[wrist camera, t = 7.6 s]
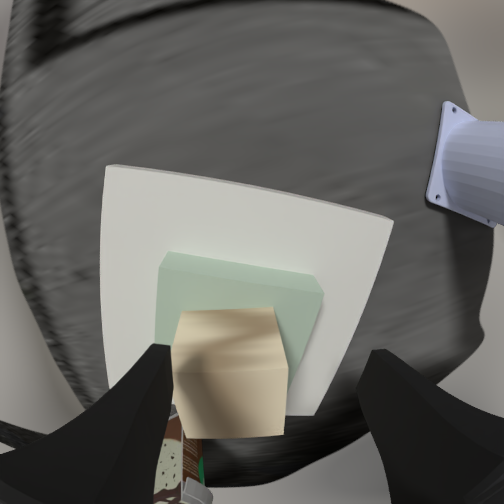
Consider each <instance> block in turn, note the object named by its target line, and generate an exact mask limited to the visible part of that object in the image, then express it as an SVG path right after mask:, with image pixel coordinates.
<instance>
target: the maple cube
mask: <svg viewBox="0 0 504 504" xmlns="http://www.w3.org/2000/svg"><path fill="white" fill-rule="evenodd" d="M171 360H172V372H173V383H174V390H173V399H174V402H175V405H176V409H177V412H178V415H179V418H180V421H181V424H182V427H183V430H184V433H185V435H186V438H195V439H224V438H249V437H263V436H275V435H283V434H284V422H285V410H286V397H287V383H288V364H287V360H286V356H285V352H284V348H283V344H282V340H281V336H280V332H279V328H278V324H277V320H276V316H275V312H274V308H273V307H262V308H244V309H224V310H196V311H182V312H181V315H180V319H179V323H178V326H177V330H176V334H175V338H174V341H173V345H172V349H171Z"/></svg>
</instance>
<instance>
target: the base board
mask: <svg viewBox="0 0 504 504" xmlns="http://www.w3.org/2000/svg"><path fill="white" fill-rule="evenodd" d="M393 223H394V221H392V220H391V219H389V218H387V217H385V216H382V215H378V214H375V213H371V212H367V211H363V210H360V209H356V208H352V207H348V206H344V205H340V204H336V203H332V202H327V201H323V200H319V199H315V198H310V197H306V196H301V195H297V194H292V193H288V192H283V191H278V190H273V189H268V188H264V187H259V186H253V185H248V184H243V183H238V182H232V181H227V180H221V179H215V178H209V177H203V176H197V175H191V174H184V173H178V172H171V171H164V170H157V169H150V168H142V167H134V166H126V165H117V164H115V165H109V166H106V172H105V181H104V191H103V202H102V216H101V237H100V293H101V314H102V328H103V340H104V350H105V359H106V367H107V374H108V381H109V388H110V389H111V388H112V387H113V386H114V385H115V384H116V383H117V382H118V381H119V380H120V379H121V378H122V377H123V376H124V375H125V374H126V373H127V372H128V370H129V369H130V368H131V367H132V366H133V365H134V364H135V363H136V362H137V360H138V359H139V358H140V357H141V356H142V355H143V353H144V352H145V351H146V350H147V349H148V347H149V346H150V345H151V344H153V343H155V344H164V345H170V346H171V349H172V345H173V341H174V338H175V334H176V330H177V326H178V323H179V319H180V315H181V312H182V311H196V310H224V309H244V308H262V307H273V308H274V312H275V316H276V320H277V324H278V328H279V332H280V336H281V340H282V344H283V348H284V352H285V356H286V360H287V364H288V383H287V397H286V410H285V415H292V416H314V414H315V412H316V410H317V408H318V407H319V405H320V403H321V401H322V399H323V397H324V395H325V393H326V391H327V389H328V387H329V385H330V383H331V381H332V379H333V377H334V375H335V373H336V371H337V369H338V367H339V365H340V363H341V361H342V359H343V356H344V354H345V352H346V350H347V348H348V345H349V343H350V341H351V339H352V336H353V334H354V332H355V329H356V327H357V325H358V322H359V320H360V317H361V315H362V312H363V310H364V307H365V305H366V302H367V300H368V297H369V294H370V292H371V289H372V286H373V284H374V281H375V278H376V275H377V273H378V270H379V267H380V264H381V261H382V258H383V255H384V252H385V249H386V246H387V243H388V239H389V236H390V233H391V230H392V226H393ZM172 404H175V402H174V399H173V397H172Z"/></svg>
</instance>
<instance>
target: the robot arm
mask: <svg viewBox="0 0 504 504" xmlns="http://www.w3.org/2000/svg"><path fill="white" fill-rule="evenodd" d="M452 108H453V110H454V112H453V111H452ZM436 195H437V199H436ZM426 199H427V200H428V201H429V202H432V203H434V204H437V205H439V206H442V207H445V208H447V209H450V210H452V211H455V212H457V213H460V214H462V215H465V216H467V217H469V218H472V219H474V220H476V221H479V222H481V223H483V224H485V225H488V226H490V227H492V228H494V227H495V226H496V225H497V223H498V224H501V225H503V226H504V122H497V121H479V120H477V119H476V118H474V117H473V116H471V115H470V114H468V113H467V112H465V111H464V110H462V109H461V108H459V107H458V106H456V105H455V104H453V103H451V102H449V101H446V102H444V103H443V106H442V114H441V121H440V128H439V134H438V140H437V145H436V151H435V156H434V161H433V165H432V170H431V175H430V179H429V183H428V187H427V191H426ZM173 390H174V383H173V372H172V360H171V346H170V345H164V344H155V343H153V344H151V345H150V346H149V347H148V349H147V350H146V351H145V352H144V353H143V355H142V356H141V357H140V358H139V359H138V360H137V362H136V363H135V364H134V365H133V366H132V367H131V368H130V369H129V370H128V372H127V373H126V374H125V375H124V376H123V377H122V378H121V379H120V380H119V381H118V382H117V383H116V384H115V385H114V386H113V387H112V388H111V389H110V390H109V391H108V392H107V393H105V394H104V395H103V396H102V397H101V398H100V399H99V400H98V401H97V402H95V403H94V404H93V405H92V406H91V407H89V408H88V409H87V410H85V411H84V412H83V413H81V414H80V415H79V416H77V417H76V418H75V419H73V420H71V421H70V422H68V423H67V424H65V425H64V426H62V427H61V428H59V429H57V430H56V431H54V432H53V433H50V434H48V435H46V436H44V437H42V438H41V439H39V440H37V441H34V442H32V443H30V444H28V445H26V446H23V447H21V448H18V449H15V450H12V451H9V452H6V453H3V454H0V504H153V499H154V488H155V478H156V470H157V465H158V460H159V456H160V452H161V448H162V444H163V440H164V436H165V432H166V428H167V424H168V420H169V416H170V412H171V405H172V397H173ZM356 390H357V394H358V398H359V402H360V406H361V410H362V412H363V415H364V417H365V420H366V422H367V425H368V427H369V429H370V432H371V434H372V436H373V438H374V441H375V443H376V446H377V448H378V451H379V453H380V456H381V459H382V462H383V465H384V469H385V473H386V477H387V481H388V486H389V492H390V497H391V503H392V504H504V418H502V417H498V416H495V415H493V414H490V413H487V412H485V411H482V410H480V409H477V408H475V407H473V406H471V405H469V404H467V403H465V402H463V401H461V400H459V399H458V398H456V397H454V396H452V395H451V394H449V393H447V392H446V391H444V390H443V389H441V388H440V387H438V386H437V385H435V384H434V383H432V382H431V381H430V380H428V379H427V378H425V377H424V376H423V375H421V374H420V373H419V372H417V371H416V370H414V369H413V368H412V367H410V366H409V365H408V364H406V363H405V362H404V361H402V360H401V359H400V358H398V357H397V356H395V355H394V354H393V353H391V352H390V351H388V350H386V349H378V350H372V351H371V354H370V356H369V359H368V361H367V364H366V366H365V369H364V371H363V374H362V376H361V378H360V381H359V383H358V385H357V387H356Z"/></svg>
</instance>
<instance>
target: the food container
mask: <svg viewBox="0 0 504 504" xmlns="http://www.w3.org/2000/svg"><path fill="white" fill-rule="evenodd" d="M212 501H213V495H212V493H211V492H210V490H209V489H208V488H206V487H205V483H204V469H203V454H202V439H195V438H186V435H185V433H184V430H183V427H182V424H181V421H180V418H179V415H178V413H176V414H174V415H172V416H171V417H169V420H168V424H167V428H166V432H165V436H164V440H163V444H162V448H161V452H160V456H159V460H158V465H157V470H156V478H155V488H154V499H153V504H212Z"/></svg>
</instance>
